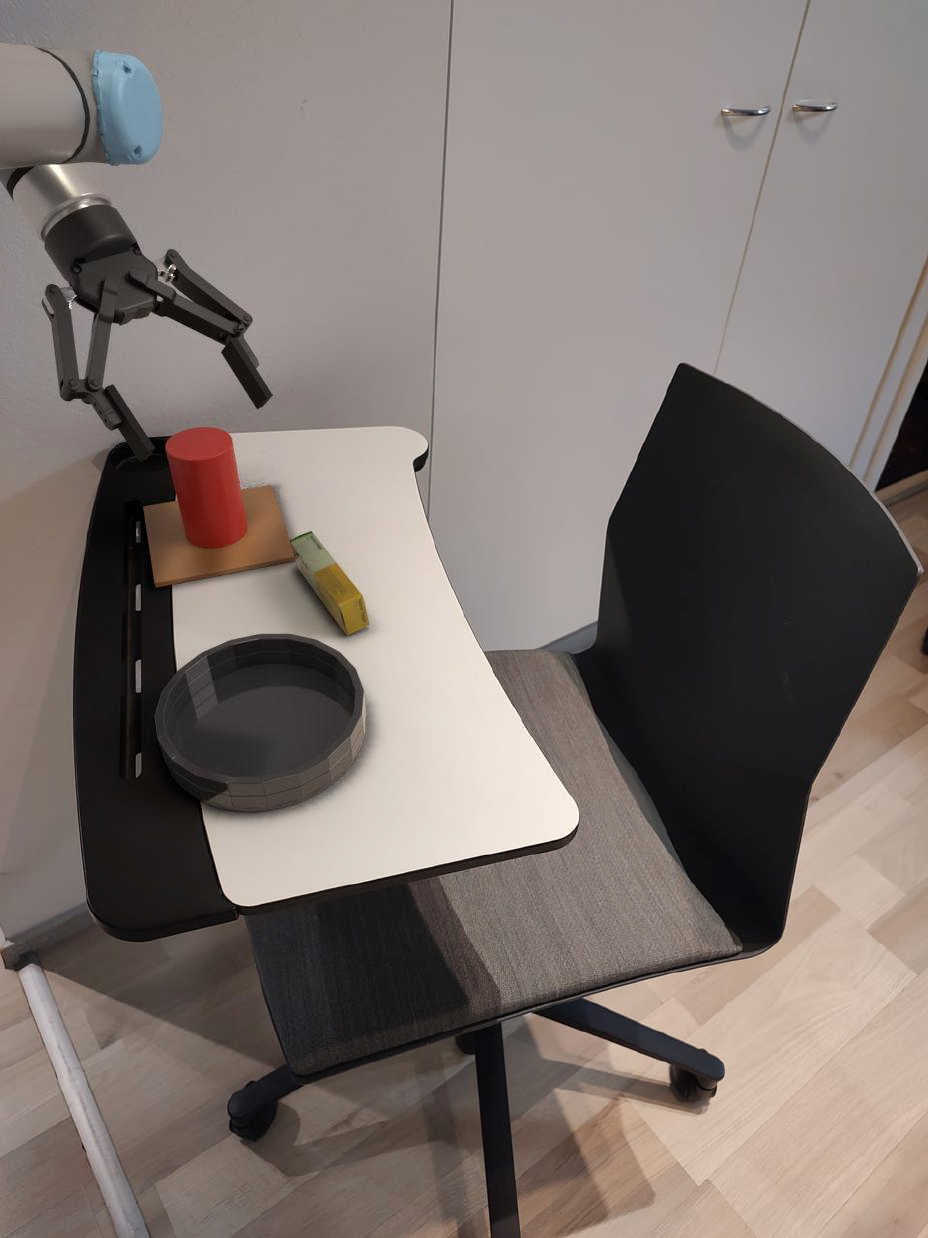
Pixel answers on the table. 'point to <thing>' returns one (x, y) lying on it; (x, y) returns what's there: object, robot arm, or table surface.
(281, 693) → the pan
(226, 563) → the mat
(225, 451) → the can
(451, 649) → the table surface
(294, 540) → the medication box
